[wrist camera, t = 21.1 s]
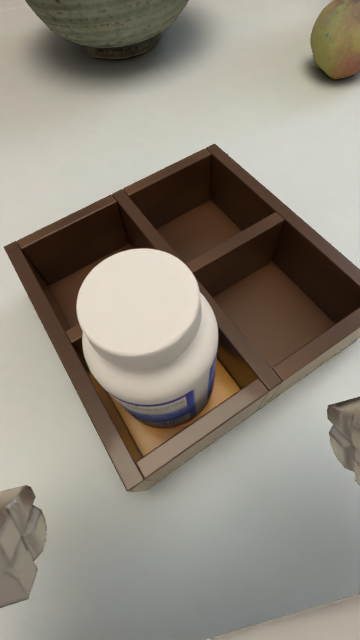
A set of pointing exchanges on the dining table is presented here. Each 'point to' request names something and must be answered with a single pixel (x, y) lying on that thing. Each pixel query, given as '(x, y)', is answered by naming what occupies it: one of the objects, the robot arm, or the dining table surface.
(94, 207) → the grid
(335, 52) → the apple
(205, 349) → the pill bottle
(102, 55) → the bowl
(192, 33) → the dining table surface
